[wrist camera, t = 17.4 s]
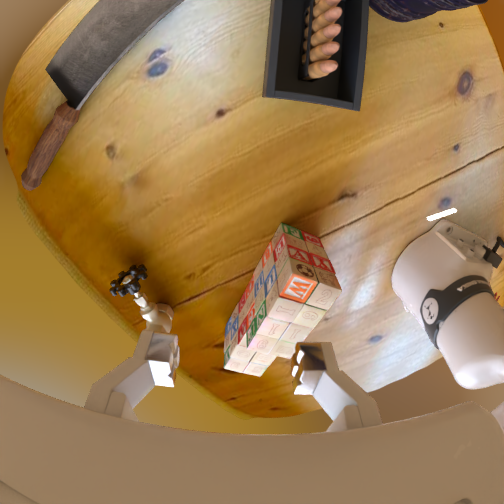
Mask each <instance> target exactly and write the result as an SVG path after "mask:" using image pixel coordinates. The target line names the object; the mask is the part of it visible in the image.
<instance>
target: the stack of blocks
mask: <svg viewBox="0 0 504 504" xmlns="http://www.w3.org/2000/svg"><path fill="white" fill-rule="evenodd" d="M253 274H254V275H253V276H252V278H251V280H250V282H249V284H248V286H247V288H246V290H245V292H244V294H243V296H242V298H241V300H240V302H239V303H238V304H237V306H236V308H235V309H234V311H233V313H232V316H231V317H230V319H229V321H228V323H227V325H226V330H225V343H224V353H225V355H224V368H225V369H228V370H233V371H237V372H241V373H242V372H243V373H247V374H251V375H256V376H261V375H262V374H263V373H264V371H265V370H266V369H267V367H268V366H269V365H270V364H271V363H272V362H273V360H274V359H275V358H276V356H280V357H284V358H288V359H290V358H291V357H292V355H293V354H294V353H295V346H296V343H297V342H303V341H304V340H305V339H306V337H307V336H308V335H309V333H310V332H311V331H312V329H313V328H314V327H315V326H316V325H317V324H318V322H319V321H320V320H321V318H322V317H323V316H324V314H325V313H326V311H327V310H328V309H329V308H330V307H331V306H332V304H333V303H334V302H335V300H336V299H337V298H338V296H339V295H340V294H341V292H342V289H341V287H340V284H339V282H338V280H337V278H336V276H335V274H336V273H335V271H334V268H333V266H332V264H331V262H330V260H329V258H328V256H327V254H326V252H325V250H324V247H323V245H322V243H321V241H320V239H319V238H318V237H316V236H314V235H311V234H309V233H307V232H304V231H300V230H298V229H296V228H294V227H291V226H289V225H286V224H284V223H280V225H279V227H278V229H277V231H276V233H275V234H274V236H273V238H272V240H271V241H270V243H269V245H268V246H267V248H266V250H265V252H264V254H263V256H262V258H261V260H260V261H259V263H258V265H257V267H256V269H255V271H254V273H253Z"/></svg>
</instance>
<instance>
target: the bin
mask: <svg viewBox="0 0 504 504" xmlns="http://www.w3.org/2000/svg"><path fill="white" fill-rule="evenodd" d="M305 2H306V0H271V7H270V18H269V29H268V39H267V50H266V61H265V72H264V83H263V94H262V97H268V98H278V99H287V100H295V101H302V102H309V103H316V104H322V105H327V106H333V107H338V108H344V109H349V110H355V111H360V105H361V97H362V89H363V80H364V70H365V60H366V48H367V34H368V16H369V0H341V1H340V2H339V3H338V5H337V6H336V7H341V8H342V14H341V16H340V17H339V18H338V19H337V20H336V21H335V23H334V24H339V25H340V26H341V30H340V32H339V34H338V35H337V36H335V37H334V38H333V40H332V41H331V42H337V43H339V45H340V47H339V50H338V51H337V52H336V53H334V54H333V55H331V57H330V58H329V59H327V60H334V61H336V62H337V63H338V67H337V69H336V70H334V71H333V72H331V73H329V74H328V75H326V76H324V78H323V79H320V80H317V81H314V82H307V81H301V80H298V68H299V58H300V47H301V35H302V23H303V11H304V3H305Z"/></svg>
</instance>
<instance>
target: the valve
mask: <svg viewBox="0 0 504 504" xmlns="http://www.w3.org/2000/svg"><path fill="white" fill-rule="evenodd" d="M129 269H130V270H129V271H127V272H124V271H122V272H120V273H119V274H118V275H119V278H118V279H117V280H113V281H112V282H111V283H110V284H111V286H112V288H110V292H111V294H112V295H113V296H115V295H117V294H116V291H117V292H118V293H119V294H120V296H121V297H122V296H125V295H126V294H127V293H130V294H131V295H133V294H134V295H135V297H134V300H135V301H136V303H137V304H138V305H139V306H141V310H140V314H141V315H142V317H143V318H144V319H147V323H146V325H147V328H146V329H145V330H150V331H157V332H164V333H169V332H170V330H171V328H172V321H171V320H172V319H173V315H174V312H173V310H172V309H171V307H170V306H169V305H167V304H162V303H157V304H155V303H154V302H147V301H148V298H147V296H146V295H145V293H143V292H140V291H139V290H140V288H141V286H140V284H139V282H138V280H139V279H140V278H142V279H143V280H144V279H146V278H147V274H146V271H147V269H146V267H145V266H144V264H142V265H140V266H138V268H137V267H136V265H132V266H131V267H130V268H129ZM122 281H123V283H124V285H120V284H121V282H122Z"/></svg>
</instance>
